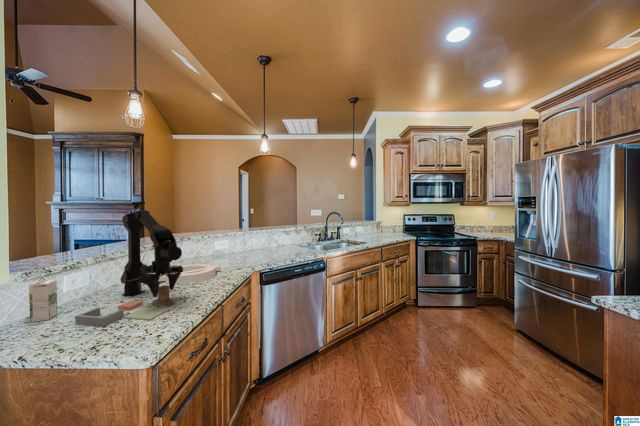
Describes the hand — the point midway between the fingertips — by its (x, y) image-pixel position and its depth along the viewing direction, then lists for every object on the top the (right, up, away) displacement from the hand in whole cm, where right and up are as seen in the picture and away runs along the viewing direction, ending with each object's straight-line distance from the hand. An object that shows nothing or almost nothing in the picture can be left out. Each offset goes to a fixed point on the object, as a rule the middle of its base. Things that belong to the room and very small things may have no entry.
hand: (163, 293), depth 117 cm
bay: (-15, -6, -15) cm, 22 cm away
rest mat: (-1, -5, -10) cm, 11 cm away
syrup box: (-39, -6, -13) cm, 41 cm away
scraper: (0, -5, 0) cm, 5 cm away
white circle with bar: (-10, -4, +45) cm, 46 cm away
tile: (-13, -6, -2) cm, 14 cm away
